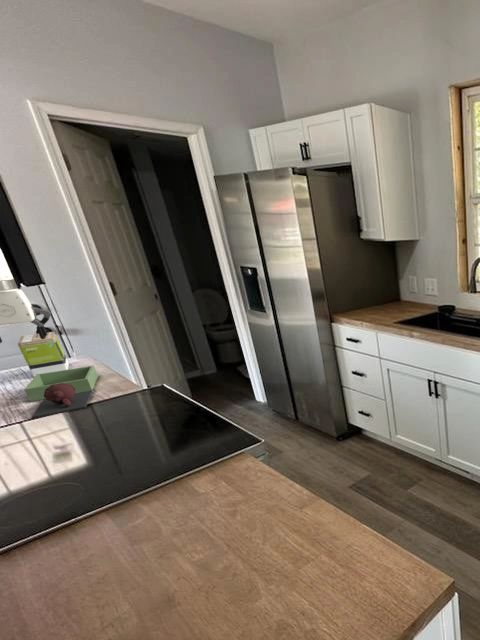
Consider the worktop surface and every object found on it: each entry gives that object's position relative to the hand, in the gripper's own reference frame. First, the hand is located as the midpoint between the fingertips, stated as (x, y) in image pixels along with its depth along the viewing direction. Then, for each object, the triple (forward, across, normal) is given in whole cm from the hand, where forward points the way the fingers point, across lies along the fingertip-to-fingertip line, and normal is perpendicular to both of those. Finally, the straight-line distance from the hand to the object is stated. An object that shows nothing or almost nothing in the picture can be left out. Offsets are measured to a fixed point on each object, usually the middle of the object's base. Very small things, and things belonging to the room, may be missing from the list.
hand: (22, 340), depth 132 cm
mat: (+22, +4, -5) cm, 23 cm away
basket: (+22, +2, +16) cm, 27 cm away
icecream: (+21, +4, -5) cm, 22 cm away
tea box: (+23, -6, +48) cm, 53 cm away
